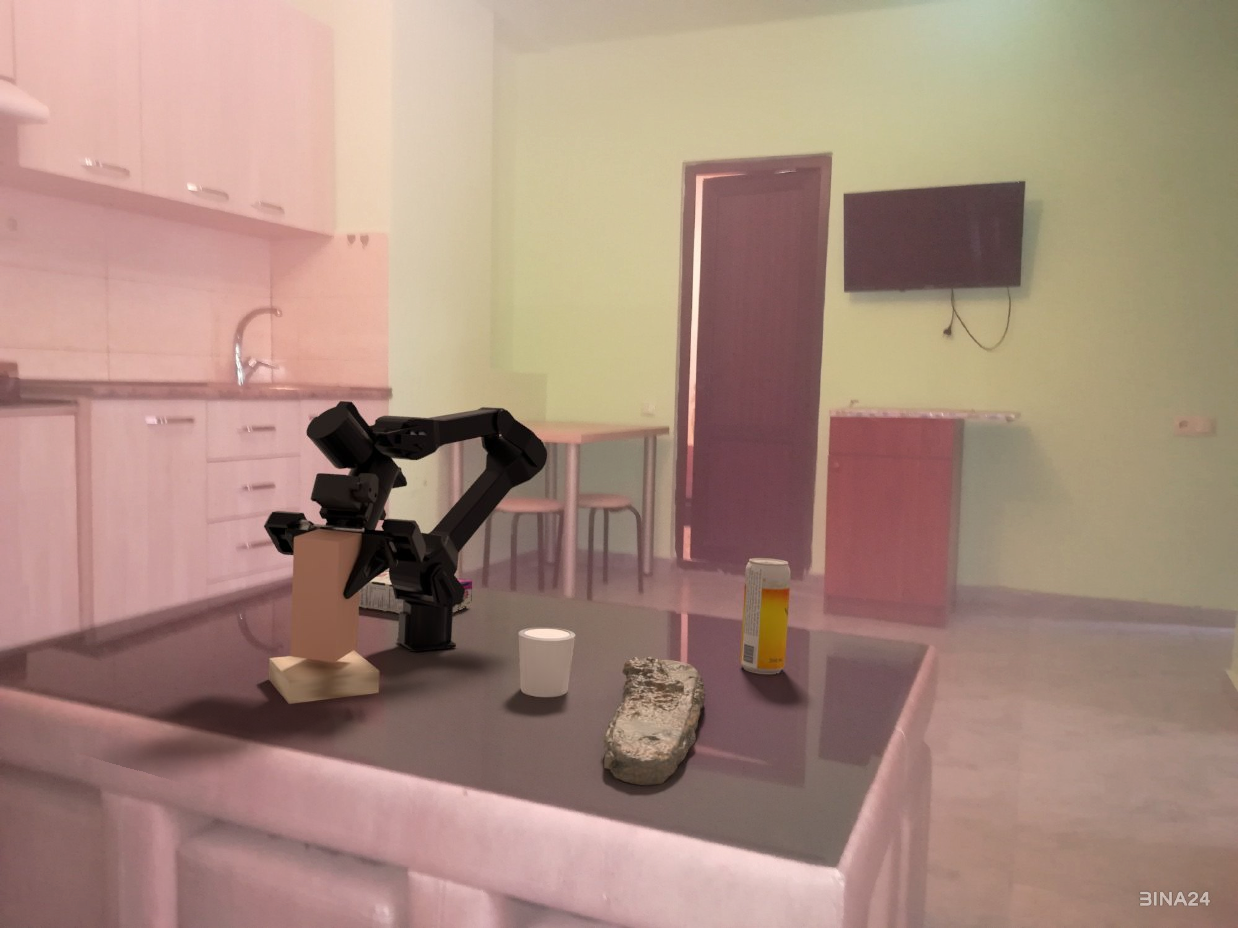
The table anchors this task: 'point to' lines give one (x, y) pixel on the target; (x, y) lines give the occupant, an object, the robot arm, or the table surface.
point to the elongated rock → (653, 720)
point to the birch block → (322, 677)
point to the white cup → (545, 660)
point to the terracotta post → (324, 595)
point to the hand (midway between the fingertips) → (321, 594)
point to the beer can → (765, 615)
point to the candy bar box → (383, 598)
